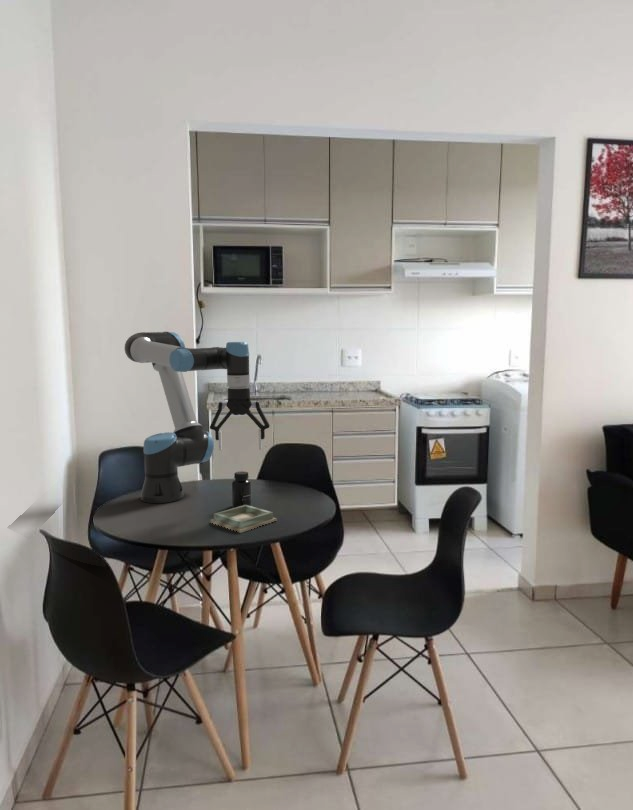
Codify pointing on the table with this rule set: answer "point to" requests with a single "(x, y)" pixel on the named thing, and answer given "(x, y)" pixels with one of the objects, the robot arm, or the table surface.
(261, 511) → the green square tray
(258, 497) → the table surface
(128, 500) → the table surface
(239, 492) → the supplement bottle
